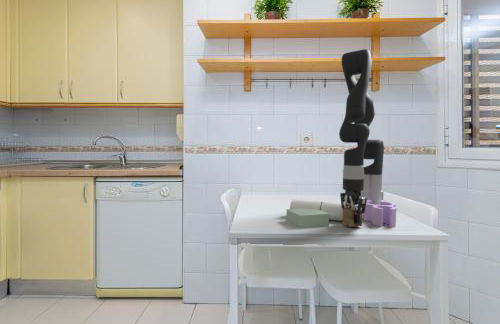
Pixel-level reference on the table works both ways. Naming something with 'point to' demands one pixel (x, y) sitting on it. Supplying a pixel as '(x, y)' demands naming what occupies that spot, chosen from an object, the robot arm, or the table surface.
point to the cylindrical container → (320, 208)
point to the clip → (380, 213)
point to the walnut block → (350, 217)
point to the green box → (307, 217)
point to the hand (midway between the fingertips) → (352, 222)
